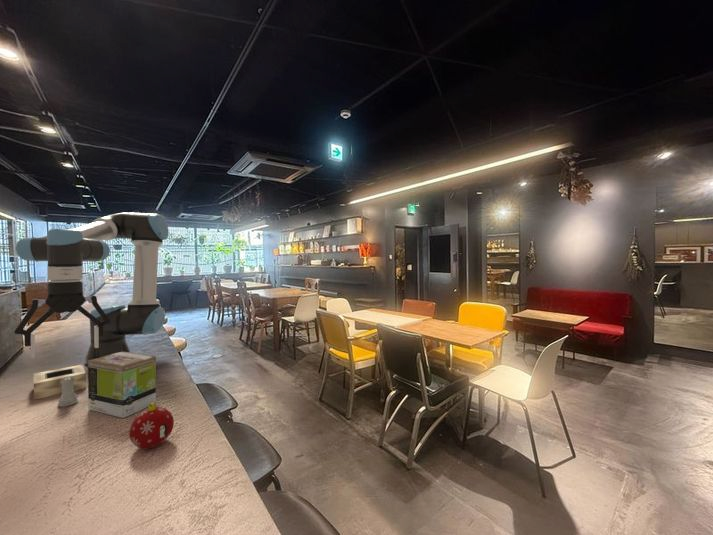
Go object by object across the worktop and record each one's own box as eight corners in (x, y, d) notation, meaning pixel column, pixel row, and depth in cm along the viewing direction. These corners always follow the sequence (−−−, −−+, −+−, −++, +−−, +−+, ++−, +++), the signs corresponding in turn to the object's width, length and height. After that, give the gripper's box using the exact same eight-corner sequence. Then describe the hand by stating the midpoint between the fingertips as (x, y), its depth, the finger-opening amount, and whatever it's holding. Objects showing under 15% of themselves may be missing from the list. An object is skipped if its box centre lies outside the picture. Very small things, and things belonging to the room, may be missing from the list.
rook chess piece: (65, 408, 87) (64, 381, 87) (53, 406, 88) (52, 379, 88) (82, 401, 91) (81, 375, 91) (70, 399, 92) (70, 374, 92)
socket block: (82, 378, 109) (82, 364, 109) (86, 387, 101) (85, 373, 101) (33, 388, 100) (33, 373, 100) (33, 399, 92) (33, 383, 92)
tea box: (157, 403, 90) (157, 355, 90) (122, 419, 81) (121, 366, 81) (123, 395, 95) (123, 349, 95) (86, 410, 86) (85, 359, 86)
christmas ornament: (162, 430, 76) (161, 392, 76) (181, 441, 71) (180, 400, 71) (122, 449, 68) (121, 406, 68) (140, 462, 64) (140, 416, 64)
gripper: (-1, 283, 77) (0, 365, 77) (120, 280, 95) (121, 345, 96) (1, 282, 82) (2, 358, 82) (116, 279, 100) (117, 341, 101)
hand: (66, 351), depth 89 cm, fingers open, 13 cm apart
